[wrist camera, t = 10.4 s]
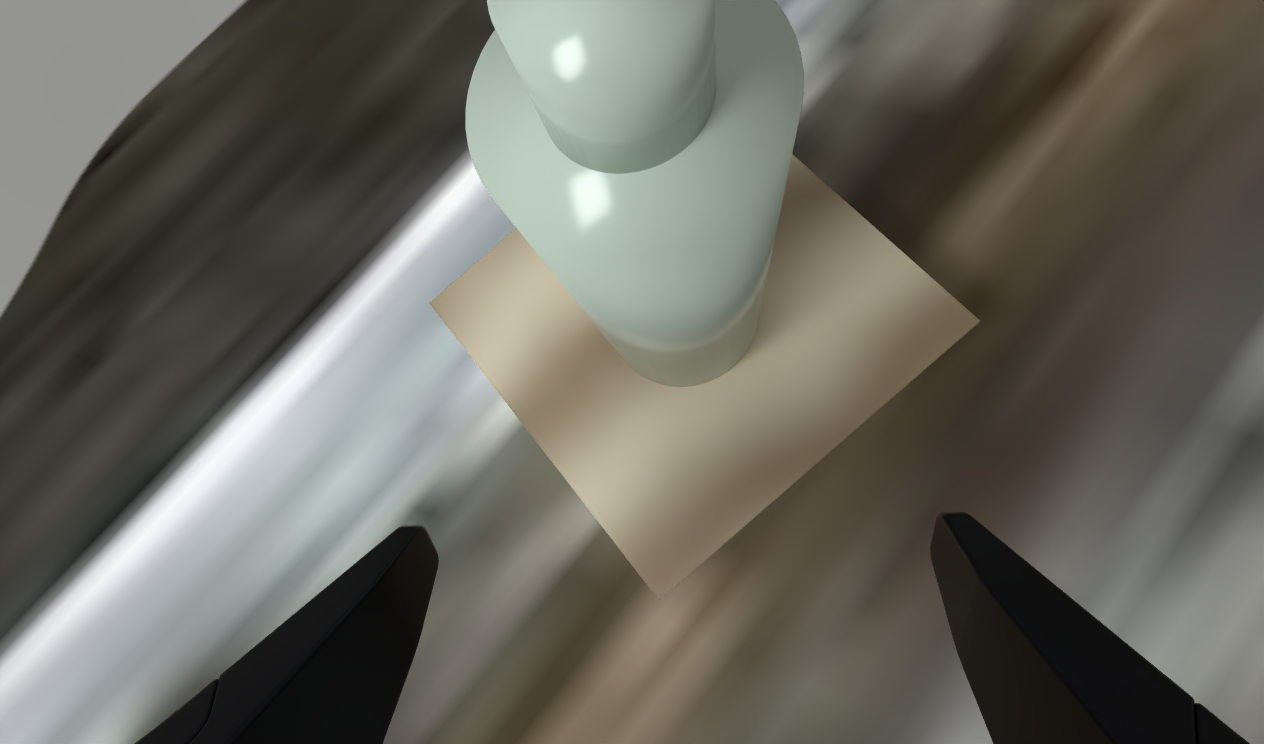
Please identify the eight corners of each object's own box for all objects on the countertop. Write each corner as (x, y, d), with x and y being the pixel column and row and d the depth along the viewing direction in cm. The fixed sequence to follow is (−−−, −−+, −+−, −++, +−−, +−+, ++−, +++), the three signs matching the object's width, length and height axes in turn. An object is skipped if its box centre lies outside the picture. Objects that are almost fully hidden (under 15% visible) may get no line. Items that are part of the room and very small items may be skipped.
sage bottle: (765, 247, 19) (846, -226, 6) (750, 394, 18) (810, 186, 5) (619, 238, 20) (435, -190, 7) (598, 378, 19) (349, 167, 6)
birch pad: (949, 341, 20) (980, 321, 17) (667, 586, 20) (659, 600, 17) (701, 114, 23) (698, 70, 21) (460, 322, 23) (429, 302, 21)
